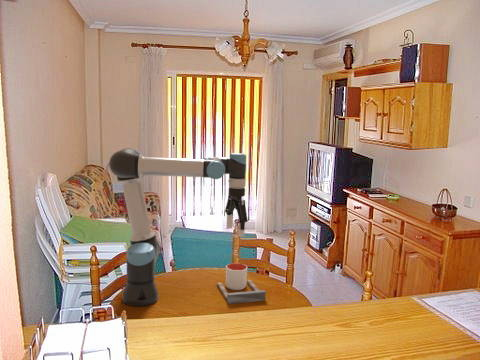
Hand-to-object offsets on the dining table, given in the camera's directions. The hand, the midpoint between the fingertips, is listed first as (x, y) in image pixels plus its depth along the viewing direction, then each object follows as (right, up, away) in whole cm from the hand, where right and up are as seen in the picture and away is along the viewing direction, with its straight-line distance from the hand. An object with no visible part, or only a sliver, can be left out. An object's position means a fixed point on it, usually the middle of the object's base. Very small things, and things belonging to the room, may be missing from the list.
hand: (235, 232), depth 192 cm
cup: (0, -27, +5) cm, 27 cm away
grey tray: (+2, -27, -1) cm, 28 cm away
